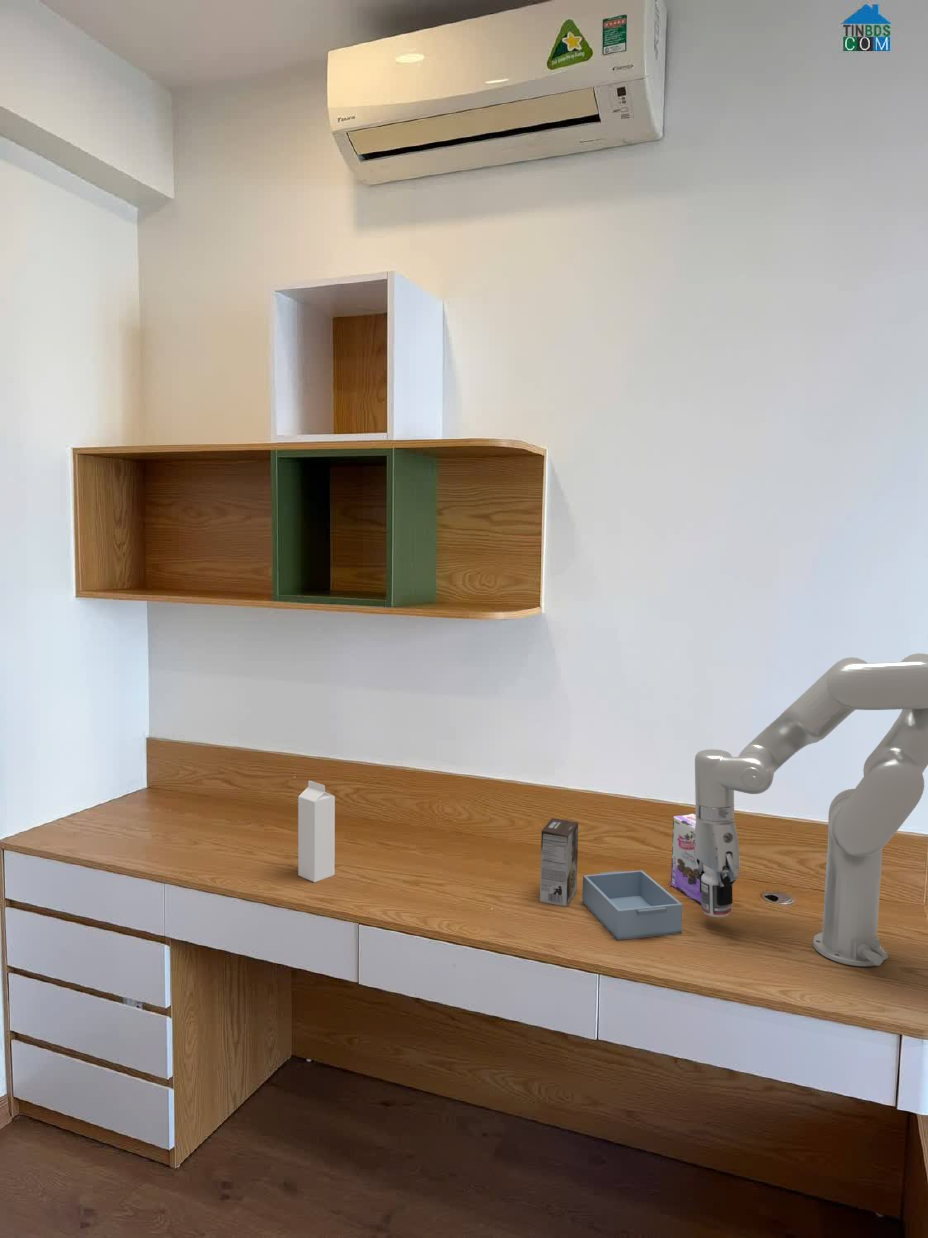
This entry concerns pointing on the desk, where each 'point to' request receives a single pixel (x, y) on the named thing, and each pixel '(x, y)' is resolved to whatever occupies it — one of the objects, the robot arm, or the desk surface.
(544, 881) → the coffee box
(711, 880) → the pill bottle
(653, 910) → the tote
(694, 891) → the candy box
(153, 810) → the desk surface
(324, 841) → the milk
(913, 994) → the desk surface
